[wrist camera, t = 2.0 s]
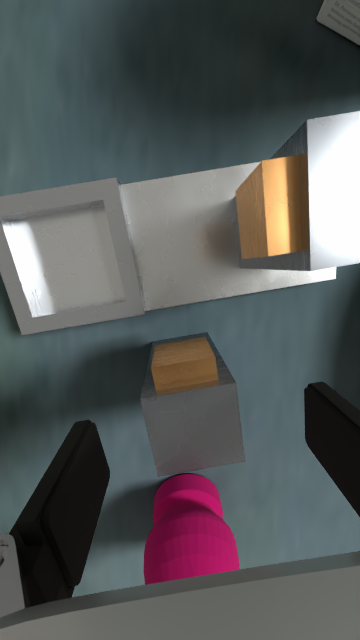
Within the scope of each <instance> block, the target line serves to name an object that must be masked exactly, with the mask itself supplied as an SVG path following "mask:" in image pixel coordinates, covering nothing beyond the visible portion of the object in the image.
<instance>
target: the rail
mask: <svg viewBox="0 0 360 640" xmlns="http://www.w3.org/2000/svg"><path fill="white" fill-rule="evenodd" d="M356 263H360V111H357V112H351V113H345V114H339V115H333V116H327V117H321V118H315V119H308V120H306V121H305V122H304V124H303V125H302V126H301V127H300V128H299V129H298V130H297V131H296V132H295V133H294V134H293V135H292V136H291V137H290V138H289V139H288V140H287V142H286V143H285V144H284V145H283V146H282V147H281V148H280V149H279V150H278V151H277V152H276V153H275V154H274V155H273V156H272V157H271V158H270V160H264V161H261V162H256V163H250V164H244V165H238V166H232V167H226V168H220V169H214V170H208V171H202V172H196V173H190V174H184V175H178V176H172V177H166V178H160V179H153V180H147V181H141V182H135V183H129V184H123V185H121V184H120V183H119V181H118V179H117V178H110V179H104V180H98V181H92V182H86V183H80V184H74V185H68V186H62V187H56V188H50V189H44V190H38V191H32V192H26V193H20V194H13V195H7V196H1V197H0V273H1V276H2V279H3V282H4V284H5V287H6V290H7V293H8V296H9V299H10V302H11V305H12V308H13V310H14V313H15V316H16V319H17V322H18V325H19V328H20V331H21V334H22V335H26V334H32V333H37V332H43V331H49V330H55V329H61V328H67V327H73V326H79V325H85V324H91V323H96V322H102V321H108V320H114V319H120V318H126V317H132V316H138V315H144V314H145V312H146V311H148V310H154V309H160V308H166V307H172V306H177V305H183V304H189V303H195V302H201V301H207V300H213V299H219V298H225V297H231V296H236V295H242V294H248V293H254V292H260V291H266V290H272V289H278V288H284V287H289V286H295V285H301V284H307V283H313V282H319V281H325V280H331V279H336V267H338V266H344V265H350V264H356Z"/></svg>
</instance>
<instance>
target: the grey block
mask: <svg viewBox="0 0 360 640" xmlns="http://www.w3.org/2000/svg"><path fill="white" fill-rule="evenodd" d="M140 401H141V406H142V410H143V414H144V419H145V423H146V427H147V432H148V436H149V440H150V445H151V449H152V453H153V458H154V462H155V466H156V470H157V475H158V477H159V476H165V475H170V474H176V473H182V472H188V471H193V470H199V469H205V468H211V467H216V466H222V465H228V464H234V463H239V462H245V457H244V448H243V440H242V431H241V422H240V413H239V405H238V396H237V387H236V382H235V380H234V378H233V377H232V375H231V373H230V371H229V370H228V368H227V366H226V364H225V363H224V361H223V359H222V357H221V356H220V354H219V352H218V350H217V348H216V347H215V345H214V343H213V341H212V340H211V338H210V336H209V334H208V333H207V332H206V333H200V334H194V335H188V336H182V337H177V338H171V339H165V340H159V341H153V342H152V347H151V351H150V356H149V361H148V365H147V370H146V374H145V379H144V383H143V388H142V392H141V397H140Z"/></svg>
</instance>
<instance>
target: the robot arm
mask: <svg viewBox="0 0 360 640" xmlns="http://www.w3.org/2000/svg"><path fill="white" fill-rule="evenodd" d="M304 401H305V439H306V443H307V445H308V447H309V448H310V450H311V451H312V452H313V454H314V455H315V456H316V458H317V459H318V461H319V462H320V463H321V465H322V466H323V467H324V469H325V470H326V472H327V473H328V474H329V476H330V477H331V478H332V480H333V481H334V482H335V484H336V485H337V487H338V488H339V489H340V491H341V492H342V493H343V495H344V496H345V498H346V499H347V500H348V502H349V503H350V504H351V506H352V507H353V509H354V510H355V511H356V513H357V514H358V515H359V517H360V411H359V410H358V409H357V408H355V407H354V406H353V405H352V404H350V403H349V402H348V401H347V400H346V399H344V398H343V397H342V396H341V395H339V394H338V393H337V392H336V391H334V390H333V389H332V388H331V387H329V386H328V385H327V384H326V383H324V382H317V383H311V384H308V386H307V388H305V389H304ZM109 478H110V470H109V466H108V463H107V460H106V457H105V454H104V450H103V447H102V444H101V441H100V437H99V434H98V431H97V428H96V425H95V423H92V422H91V421H90V420H85V421H78V422H75V424H74V425H73V427H72V428H71V430H70V432H69V433H68V435H67V437H66V438H65V440H64V442H63V444H62V445H61V447H60V449H59V450H58V452H57V454H56V455H55V457H54V459H53V460H52V462H51V464H50V465H49V467H48V469H47V471H46V472H45V474H44V476H43V477H42V479H41V481H40V482H39V484H38V486H37V487H36V489H35V491H34V492H33V494H32V496H31V498H30V499H29V501H28V503H27V504H26V506H25V508H24V509H23V511H22V513H21V514H20V516H19V518H18V519H17V521H16V523H15V525H14V526H13V528H12V530H11V531H10V533H9V534H0V640H360V551H358V552H352V553H345V554H338V555H332V556H325V557H318V558H312V559H305V560H299V561H292V562H285V563H279V564H272V565H266V566H260V567H253V568H247V569H241V570H234V571H228V572H222V573H215V574H209V575H203V576H196V577H190V578H184V579H178V580H172V581H166V582H160V583H154V584H148V585H141V586H135V587H129V588H123V589H117V590H111V591H105V592H100V593H94V594H89V595H84V596H78V597H73V598H71V597H72V594H73V591H74V587H75V586H77V585H78V584H79V583H80V581H81V578H82V574H83V571H84V567H85V564H86V560H87V556H88V553H89V549H90V546H91V542H92V539H93V535H94V532H95V528H96V525H97V521H98V518H99V514H100V510H101V507H102V503H103V500H104V496H105V493H106V489H107V486H108V482H109Z"/></svg>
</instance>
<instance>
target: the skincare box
mask: <svg viewBox="0 0 360 640" xmlns="http://www.w3.org/2000/svg"><path fill="white" fill-rule="evenodd" d="M317 21H318V22H320V23H321V24H323V25H325V26H327V27H328V28H330V29H332V30H334V31H335V32H337V33H339V34H341V35H342V36H344V37H346V38H348V39H349V40H351V41H353V42H354V43H356V44H358V45H360V0H324V2H323V4H322V7H321V9H320V11H319V14H318V16H317Z"/></svg>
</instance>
